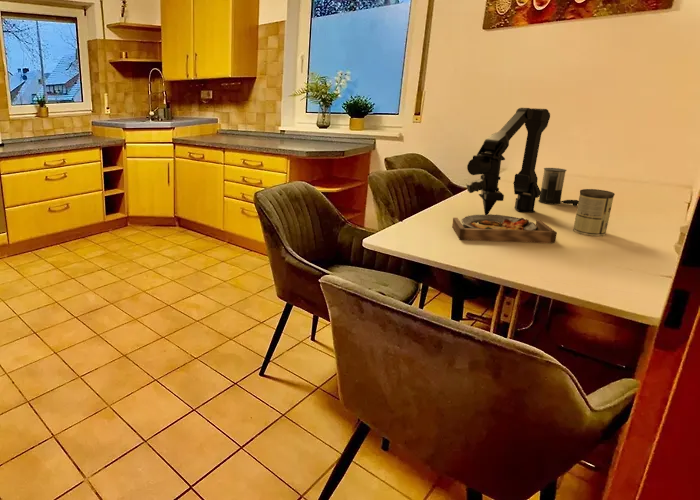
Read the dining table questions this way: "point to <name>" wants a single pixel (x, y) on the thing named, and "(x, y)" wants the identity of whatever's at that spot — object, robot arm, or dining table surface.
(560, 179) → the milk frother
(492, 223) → the food plate
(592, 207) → the coffee can
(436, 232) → the dining table surface
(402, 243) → the dining table surface
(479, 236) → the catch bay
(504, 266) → the dining table surface
